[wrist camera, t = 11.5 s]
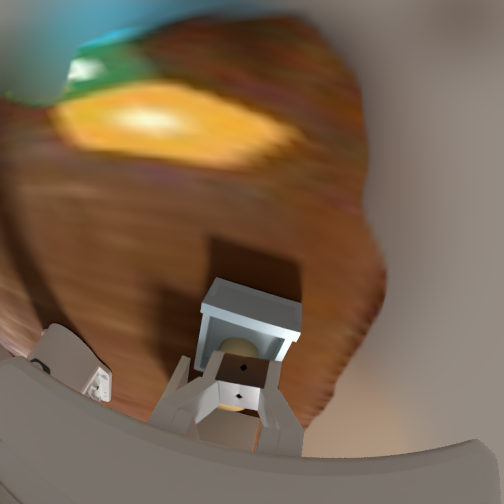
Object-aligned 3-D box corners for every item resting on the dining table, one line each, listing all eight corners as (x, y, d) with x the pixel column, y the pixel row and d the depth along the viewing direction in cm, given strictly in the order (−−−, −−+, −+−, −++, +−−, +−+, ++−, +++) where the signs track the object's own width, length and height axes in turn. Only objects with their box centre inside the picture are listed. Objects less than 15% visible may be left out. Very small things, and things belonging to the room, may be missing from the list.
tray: (268, 372, 32) (263, 400, 28) (201, 351, 33) (189, 377, 29) (302, 303, 27) (300, 332, 23) (216, 277, 27) (202, 302, 23)
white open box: (258, 420, 39) (242, 488, 27) (178, 396, 40) (150, 459, 28) (281, 385, 33) (266, 472, 22) (182, 355, 34) (143, 433, 22)
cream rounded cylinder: (236, 368, 31) (222, 413, 25) (212, 344, 30) (192, 390, 24) (266, 358, 30) (256, 407, 23) (242, 332, 28) (227, 382, 22)
